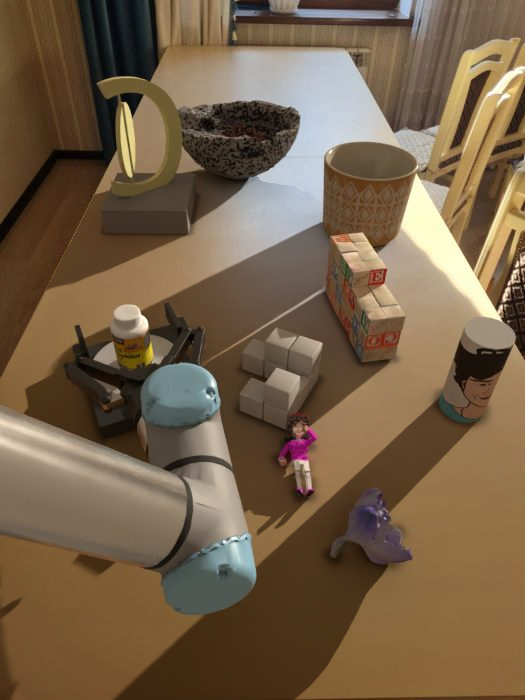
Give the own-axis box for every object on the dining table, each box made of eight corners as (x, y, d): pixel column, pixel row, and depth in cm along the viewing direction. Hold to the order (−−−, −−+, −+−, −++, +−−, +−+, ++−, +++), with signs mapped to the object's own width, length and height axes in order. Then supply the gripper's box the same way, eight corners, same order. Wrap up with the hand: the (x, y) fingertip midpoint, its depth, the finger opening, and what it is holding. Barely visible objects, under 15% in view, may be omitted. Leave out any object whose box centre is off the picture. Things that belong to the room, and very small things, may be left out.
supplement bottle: (112, 372, 84) (99, 321, 77) (127, 348, 88) (116, 298, 81) (146, 378, 83) (136, 327, 76) (159, 354, 87) (151, 303, 80)
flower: (339, 571, 57) (405, 504, 58) (303, 526, 65) (362, 468, 66) (380, 612, 61) (441, 549, 62) (342, 565, 69) (396, 509, 70)
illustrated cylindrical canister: (453, 426, 81) (481, 352, 70) (431, 394, 85) (455, 321, 75) (492, 417, 82) (526, 344, 72) (468, 386, 87) (497, 313, 77)
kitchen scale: (102, 438, 78) (98, 423, 76) (79, 359, 90) (75, 345, 88) (206, 404, 83) (205, 390, 81) (172, 334, 95) (170, 320, 93)
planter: (402, 213, 129) (416, 145, 118) (403, 257, 115) (420, 184, 103) (321, 206, 131) (328, 138, 120) (313, 247, 117) (319, 175, 106)
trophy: (121, 194, 134) (97, 61, 114) (196, 195, 134) (186, 63, 114) (105, 232, 121) (75, 90, 100) (188, 233, 121) (175, 91, 100)
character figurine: (323, 499, 72) (312, 423, 80) (326, 481, 68) (314, 403, 76) (281, 502, 72) (273, 425, 80) (282, 484, 68) (273, 406, 76)
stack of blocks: (396, 359, 91) (410, 300, 83) (360, 364, 90) (371, 305, 82) (354, 286, 107) (362, 231, 98) (323, 289, 106) (330, 234, 97)
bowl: (320, 172, 145) (325, 114, 135) (237, 212, 128) (235, 150, 118) (238, 139, 161) (237, 86, 151) (154, 171, 144) (147, 113, 134)
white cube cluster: (253, 355, 92) (253, 318, 86) (318, 379, 88) (322, 342, 82) (216, 401, 84) (214, 364, 78) (286, 430, 80) (288, 393, 74)
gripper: (71, 469, 67) (45, 361, 81) (255, 407, 75) (202, 318, 89) (56, 430, 62) (32, 322, 76) (255, 369, 69) (200, 281, 84)
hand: (124, 320), depth 82 cm, fingers open, 13 cm apart
